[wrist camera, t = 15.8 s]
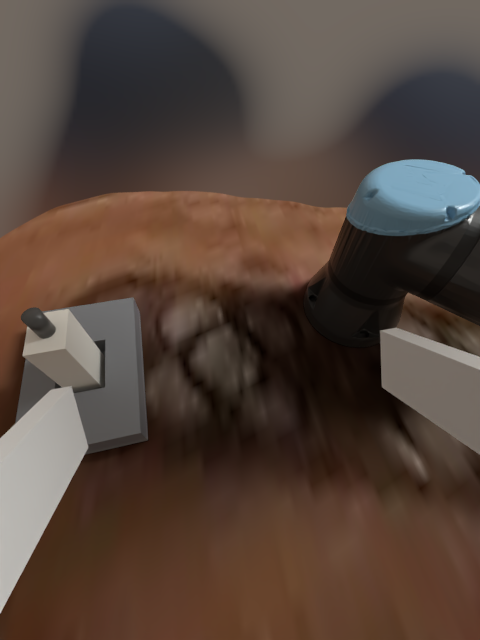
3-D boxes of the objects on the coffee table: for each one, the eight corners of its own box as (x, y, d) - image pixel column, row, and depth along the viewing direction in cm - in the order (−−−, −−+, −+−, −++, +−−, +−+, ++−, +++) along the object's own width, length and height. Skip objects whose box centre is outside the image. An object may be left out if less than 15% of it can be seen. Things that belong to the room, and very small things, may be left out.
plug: (105, 357, 44) (55, 291, 31) (105, 390, 41) (50, 333, 28) (75, 362, 43) (12, 298, 30) (73, 396, 40) (3, 341, 28)
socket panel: (139, 312, 49) (133, 297, 46) (148, 440, 39) (140, 432, 35) (46, 327, 47) (33, 313, 44) (29, 467, 37) (9, 462, 33)
